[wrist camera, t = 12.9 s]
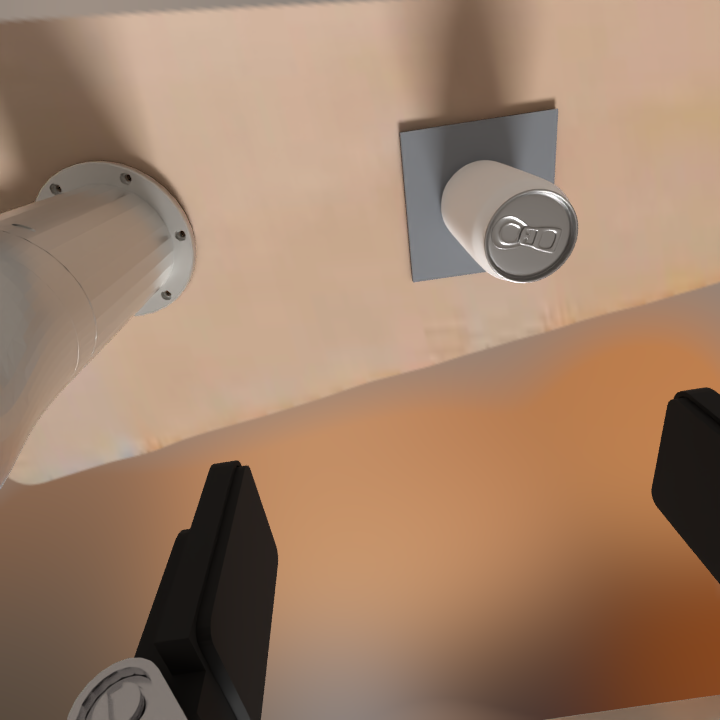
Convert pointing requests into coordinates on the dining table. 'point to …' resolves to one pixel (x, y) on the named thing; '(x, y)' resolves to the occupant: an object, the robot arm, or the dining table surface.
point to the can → (509, 220)
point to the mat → (444, 158)
